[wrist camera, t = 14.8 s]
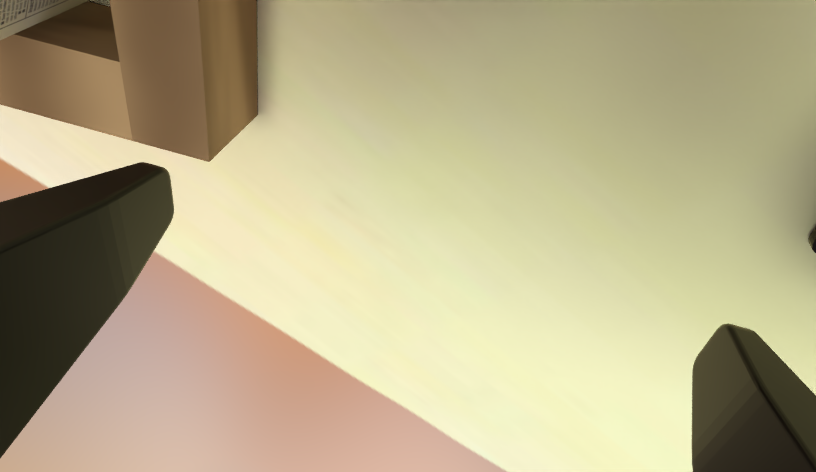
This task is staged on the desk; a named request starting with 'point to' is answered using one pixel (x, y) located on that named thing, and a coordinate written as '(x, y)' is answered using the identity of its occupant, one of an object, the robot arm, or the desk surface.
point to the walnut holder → (141, 71)
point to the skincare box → (30, 13)
